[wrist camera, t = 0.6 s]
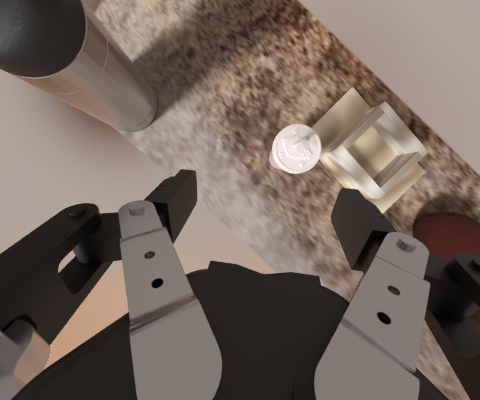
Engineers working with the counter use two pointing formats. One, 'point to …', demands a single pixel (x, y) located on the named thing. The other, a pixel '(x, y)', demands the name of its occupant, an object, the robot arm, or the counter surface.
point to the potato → (448, 234)
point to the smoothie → (295, 149)
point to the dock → (369, 149)
